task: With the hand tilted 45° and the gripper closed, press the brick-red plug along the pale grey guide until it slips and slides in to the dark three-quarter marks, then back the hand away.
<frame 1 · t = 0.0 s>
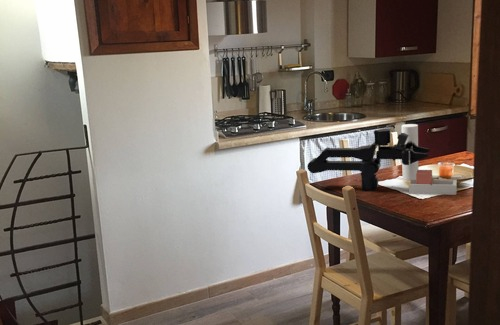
hand: (428, 152, 219), 17 cm above the table, tool horizontal, fingers open, 9 cm apart
cylindrical container: (410, 178, 243), on the table
plug guide: (431, 191, 222), on the table
plug: (424, 180, 222), point 4 cm above the table, slide at 0.0 cm
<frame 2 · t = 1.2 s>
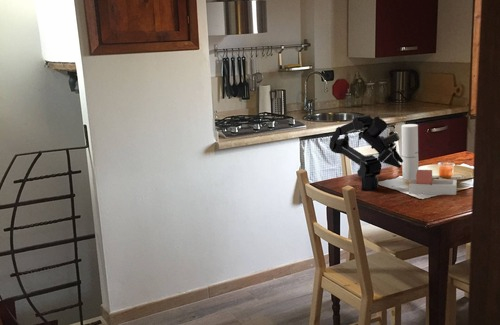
hand: (401, 164, 224), 12 cm above the table, tool tilted 45°, fingers open, 9 cm apart
nothing on the table moved.
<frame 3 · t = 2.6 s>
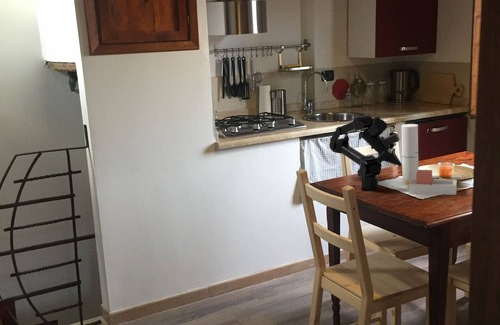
hand: (401, 165, 224), 11 cm above the table, tool tilted 45°, fingers closed
nothing on the table moved.
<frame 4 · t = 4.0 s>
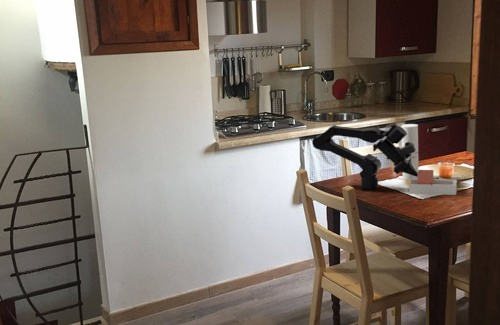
hand: (417, 175, 222), 7 cm above the table, tool tilted 45°, fingers closed, pressing on plug
plug: (425, 180, 222), point 5 cm above the table, slide at 0.5 cm, touching gripper
everything else where it was.
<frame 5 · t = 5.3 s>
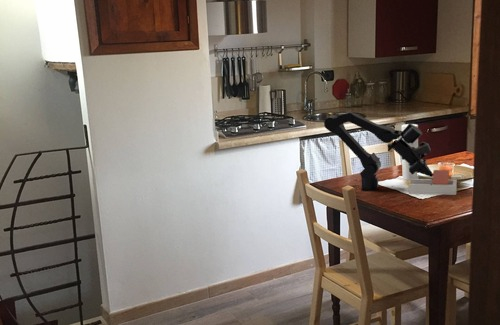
hand: (432, 175, 220), 7 cm above the table, tool tilted 45°, fingers closed, pressing on plug
plug: (440, 181, 219), point 5 cm above the table, slide at 6.6 cm, touching gripper
everything else where it was.
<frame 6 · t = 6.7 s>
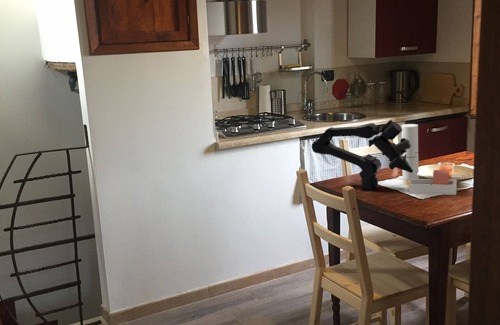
hand: (412, 171, 223), 8 cm above the table, tool tilted 45°, fingers closed
plug: (441, 181, 219), point 4 cm above the table, slide at 6.7 cm
everything else where it was.
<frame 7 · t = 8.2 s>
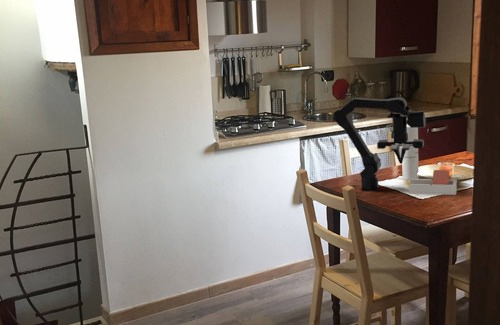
hand: (400, 163, 224), 12 cm above the table, tool pointing down, fingers closed
nothing on the table moved.
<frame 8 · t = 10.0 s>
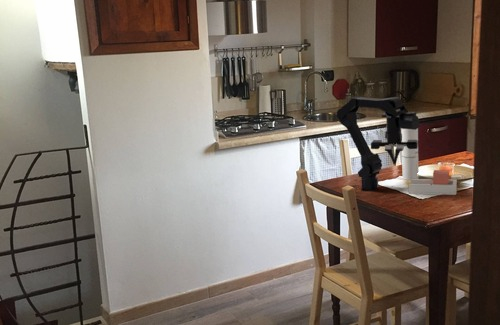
hand: (394, 164, 220), 13 cm above the table, tool pointing down, fingers closed
nothing on the table moved.
at the end: plug slide at 6.7 cm; cylindrical container moved 0.2 cm from its start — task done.
